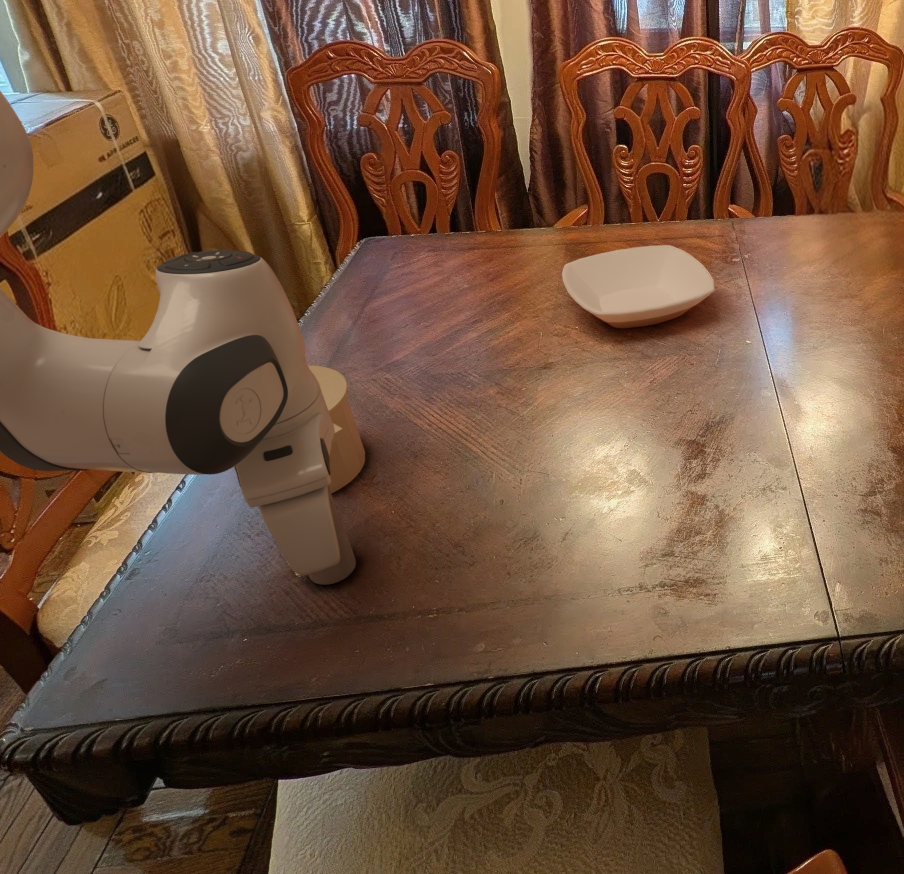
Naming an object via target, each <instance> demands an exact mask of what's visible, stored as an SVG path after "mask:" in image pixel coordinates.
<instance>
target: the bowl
mask: <svg viewBox="0 0 904 874" xmlns="http://www.w3.org/2000/svg"><path fill="white" fill-rule="evenodd" d="M561 278H562V283H563V285H564V287H565V290H566V291H567V293H568V294H569V296H570V297H571V298H572V299H573V300H574V302H576V303H577V305H579V306H580V307H581V308H582V309H583V310H585V311H587V312H588V313H590V314H592V315H593V316H594V317H596V318H598V319H599V320H601V321H603V322H604V323H606V324H608V325H609V326H611V327H613V328H616V329H630V328H631V329H632V328H633V329H634V328H642V327H647V326H648V327H649V326H653V325H658V324H661V323H665V322H667V321H671V320H673V319H677V318H679V317H681V316H683V315H684V314H685V313H687V312H688V311H689V310H691V309H692V308H694V307H695V306H696V305H698V304H699V303H701V302H702V301H704V300H705V299H706V298H707V297H709V296H710V295H712V294H713V293H714V292H715V288H716V287H715V280H714V278H713V276H712V274H711V273H710V272H709V270H708V269H707V268H706V267H705V266H704V264H703V263H701V261H699V260H698V259H696V258H695V256H693V255H692V254H689V253H688V252H687V251H685V250H683V249H681V248H678V247H675V246H673V245H670V244H665V245H664V244H663V245H658V244H657V245H646V246H636V247H629V248H621V249H615V250H611V251H606V252H601V253H597V254H593V255H589V256H584V257H581V258H578V259H575V260H573V261H570V262H568V263H566V264H564V265H563V268H562V271H561Z"/></svg>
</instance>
